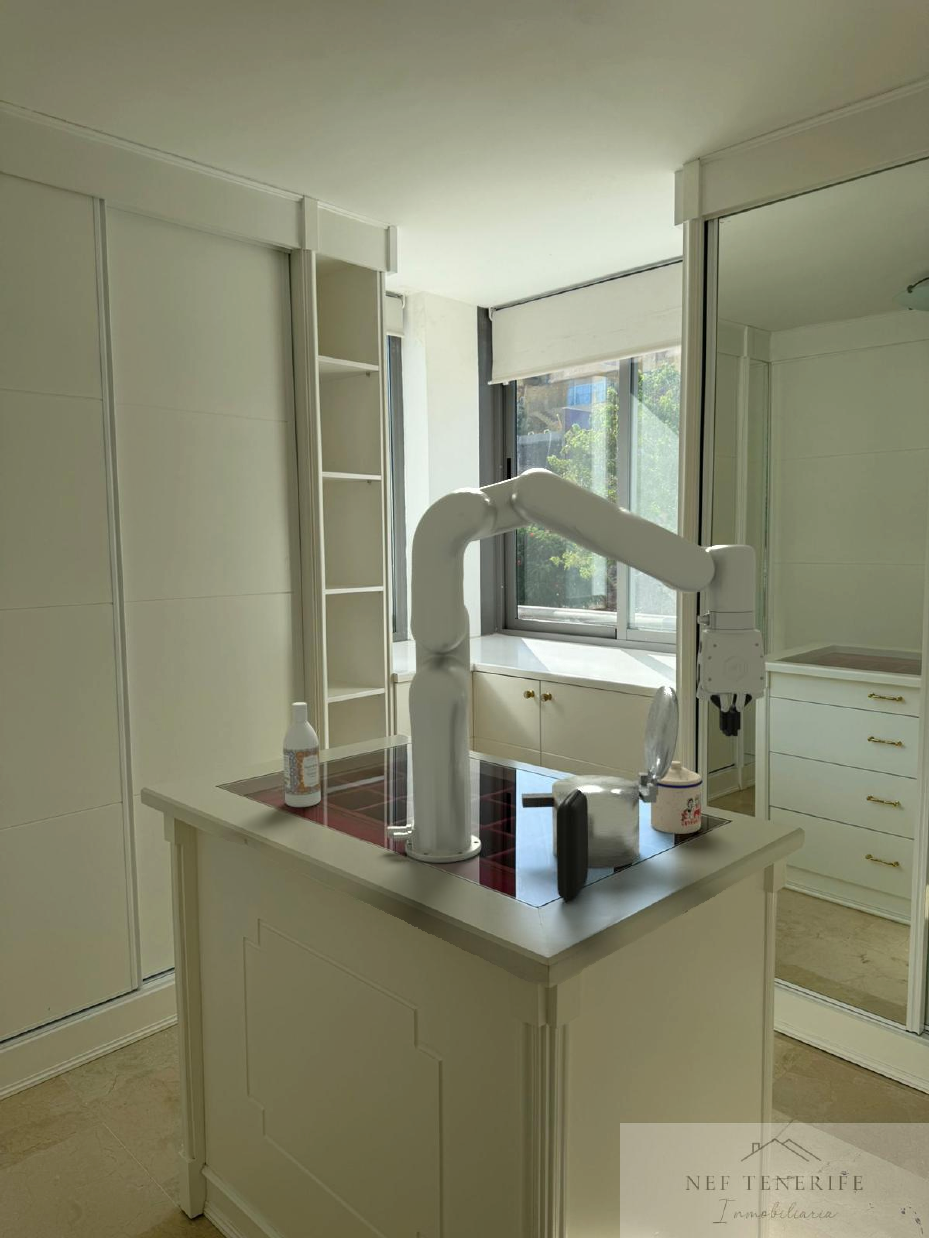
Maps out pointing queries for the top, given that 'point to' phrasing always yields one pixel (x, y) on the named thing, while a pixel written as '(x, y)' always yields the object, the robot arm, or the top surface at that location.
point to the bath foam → (301, 760)
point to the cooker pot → (603, 814)
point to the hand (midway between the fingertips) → (729, 734)
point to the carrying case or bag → (572, 845)
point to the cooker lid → (661, 734)
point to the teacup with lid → (678, 801)
